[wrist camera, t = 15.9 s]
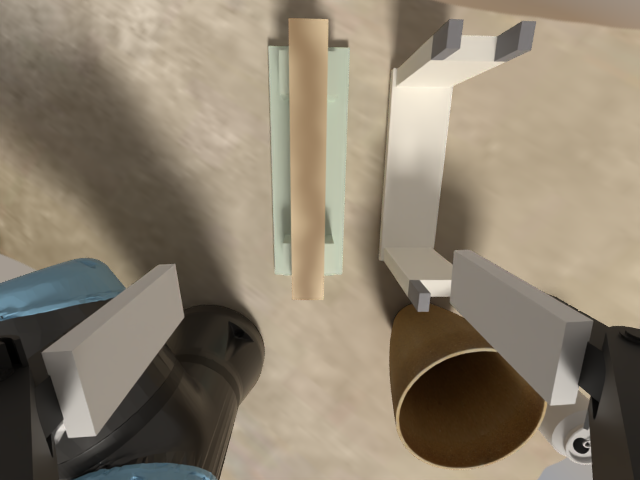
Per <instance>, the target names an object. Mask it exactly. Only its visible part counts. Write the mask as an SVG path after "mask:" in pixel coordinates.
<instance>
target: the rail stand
mask: <svg viewBox="0 0 640 480" xmlns="http://www.w3.org/2000/svg"><path fill="white" fill-rule="evenodd" d="M535 25H536V21H522V22H520V23H518V24H517V25H515V26H513V27H512V28H510V29H509V30H507V31H505V32H504V33H502V34H501V35H499V36H467V35H462V28H463V20H460V19H449V20H448V21H447V22H446V23H445V24H444V25H443V26H442V27H441V28H440V29H439V30H438V31H437V32H436V33H435V34H433V35H432V36H431V37H430V38H429V39H428V40H427V41H426V42H425V43H424V44H423V45H422V46H421V47H420V48H419V49H418V50H417V51H416V52H415V53H414V54H413V55H412V56H410V57H409V58H408V59H407V60H406V61H405V62H404V63H403V64H402V65H401V66H400V67H399V68H393V69H392V70H391V78H390V93H389V108H388V123H387V138H386V153H385V168H384V183H383V197H382V212H381V227H380V242H379V257H378V258H379V260H380V261H384V262H385V263H386V265H387V266H388V268H389V269H390V271H391V272H392V274H393V276H394V277H395V279H396V280H397V282H398V283H399V285H400V286H401V288H402V289H403V291H404V292H405V294H406V295H407V297H408V298H409V300H410V301H411V303H412V304H413V306H414V307H415V309H416V310H417V312H429V304H430V297H450V293H451V281H452V269H453V265H452V264H451V263H450V262H449V261H447V260H446V259H445V258H444V257H442V256H441V255H440V254H439V253H437V252H436V251H435V250H434V244H435V235H436V227H437V218H438V210H439V201H440V193H441V184H442V176H443V167H444V159H445V150H446V142H447V133H448V125H449V116H450V108H451V99H452V91H453V86H454V85H457V84H459V83H461V82H463V81H465V80H467V79H470V78H472V77H474V76H476V75H478V74H480V73H483V72H485V71H487V70H489V69H491V68H493V67H496V66H498V65H500V64H502V63H504V62H507V61H509V60H511V59H513V58H515V57H517V56H520V55H522V54H524V53H526V52H528V51H530V50H531V48H532V42H533V36H534V30H535Z"/></svg>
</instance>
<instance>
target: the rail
mask: <svg viewBox="0 0 640 480" xmlns="http://www.w3.org/2000/svg"><path fill="white" fill-rule="evenodd" d="M328 20H329V19H303V18H288V25H289V102H290V178H291V254H292V300H324V251H325V193H326V135H327V77H328Z"/></svg>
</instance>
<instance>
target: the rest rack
mask: <svg viewBox="0 0 640 480" xmlns="http://www.w3.org/2000/svg"><path fill="white" fill-rule="evenodd" d="M268 51H269V85H270V119H271V154H272V188H273V223H274V257H275V274H283V275H292V254H291V178H290V102H289V46H268ZM349 58H350V48H342V47H328V77H327V135H326V193H325V251H324V275H333V274H342V263H343V234H344V205H345V175H346V146H347V117H348V87H349Z"/></svg>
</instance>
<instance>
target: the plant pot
mask: <svg viewBox="0 0 640 480" xmlns="http://www.w3.org/2000/svg"><path fill="white" fill-rule="evenodd" d="M389 366H390V384H391V393H392V401H393V409H394V416H395V422H396V428H397V432H398V435H399V438H400V440H401V441H402V443H403V445H404V446H405V448H406V449H407V450H408V451H409V452H410V453H411V454H412V455H413V456H415V457H416V458H417V459H419V460H421V461H423V462H425V463H427V464H429V465H431V466H435V467H438V468H443V469H449V470H469V469H475V468H480V467H484V466H488V465H491V464H493V463H496V462H498V461H500V460H503V459H505V458H506V457H508V456H510V455H511V454H513V453H515V452H516V451H517V450H519V449H520V448H521V447H522V446H524V445H525V444H526V443H527V442H528V441H529V440H530V439H531V438H532V437H533V435H534V434H535V433H536V431H537V430H538V428H539V427H540V425H541V423H542V421H543V418H544V416H545V412H546V408H547V402H546V401H545V400H544V399H543V398H542V397H541V396H540V395H539V394H538V393H537V392H536V391H535V390H534V389H533V388H532V387H531V386H530V385H529V383H528V382H527V381H526V380H525V379H524V378H523V377H522V376H521V375H520V374H519V373H518V372H517V371H516V370H515V369H514V368H513V367H512V366H511V365H510V364H509V363H508V362H507V361H506V360H505V359H504V358H503V357H502V356H501V355H500V354H499V353H498V352H497V351H496V350H495V349H494V348H493V347H492V346H491V345H490V344H489V343H488V342H487V340H486V339H485V338H484V337H483V336H482V335H481V334H480V333H479V332H478V331H477V330H476V329H475V328H474V327H473V326H472V325H471V324H470V323H469V322H468V321H467V320H466V319H465V318H463V317H461V316H459V315H457V314H455V313H453V312H451V311H448V310H446V309H444V308H441V307H438V306H436V305H432V304H429V312H417V310H416V309H415V307H414V306H413V304H410V305H407V306H406V307H404V308H403V309H401V310H400V311H399V312H398V314H397V315H396V317H395V319H394V322H393V326H392V332H391V339H390V356H389Z"/></svg>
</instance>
